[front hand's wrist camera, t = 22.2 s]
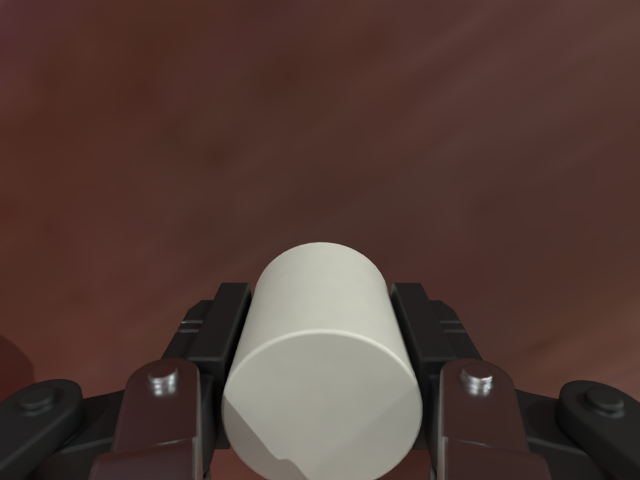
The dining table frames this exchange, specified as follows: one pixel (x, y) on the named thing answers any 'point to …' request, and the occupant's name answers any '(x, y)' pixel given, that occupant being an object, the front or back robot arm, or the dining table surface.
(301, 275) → the can
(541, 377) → the dining table surface
